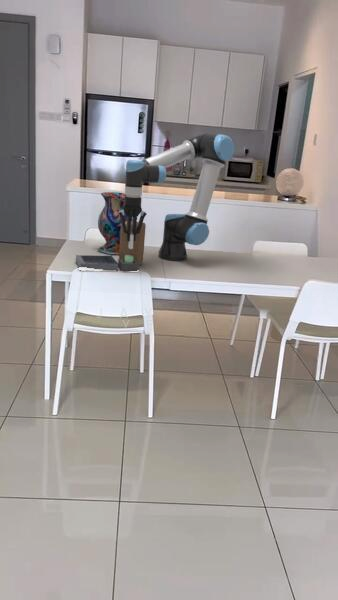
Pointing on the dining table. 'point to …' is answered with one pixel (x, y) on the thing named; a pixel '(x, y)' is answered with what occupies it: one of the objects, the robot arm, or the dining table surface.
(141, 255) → the wooden block
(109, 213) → the vase
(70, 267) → the dining table surface
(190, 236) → the robot arm
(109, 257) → the dark grey tray
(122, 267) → the dark grey square block
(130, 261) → the plunger
